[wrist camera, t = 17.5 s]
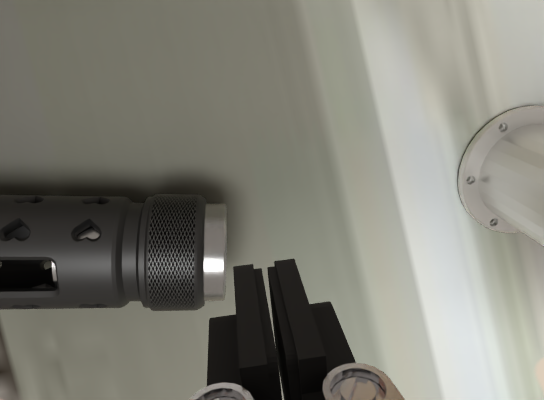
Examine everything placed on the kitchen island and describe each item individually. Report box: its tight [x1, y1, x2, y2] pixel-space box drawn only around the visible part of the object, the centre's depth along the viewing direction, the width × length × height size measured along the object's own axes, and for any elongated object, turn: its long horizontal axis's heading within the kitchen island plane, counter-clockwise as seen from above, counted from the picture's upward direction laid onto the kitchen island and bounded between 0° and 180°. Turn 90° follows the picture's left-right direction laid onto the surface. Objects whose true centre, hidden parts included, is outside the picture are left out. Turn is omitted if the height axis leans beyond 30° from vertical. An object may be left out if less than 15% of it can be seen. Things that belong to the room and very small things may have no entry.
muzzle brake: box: [0, 194, 227, 311], centre depth 36 cm, size 10×28×10 cm, turn 87°
